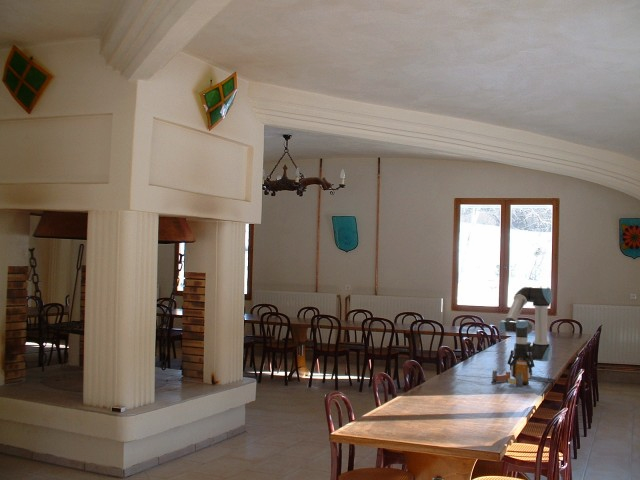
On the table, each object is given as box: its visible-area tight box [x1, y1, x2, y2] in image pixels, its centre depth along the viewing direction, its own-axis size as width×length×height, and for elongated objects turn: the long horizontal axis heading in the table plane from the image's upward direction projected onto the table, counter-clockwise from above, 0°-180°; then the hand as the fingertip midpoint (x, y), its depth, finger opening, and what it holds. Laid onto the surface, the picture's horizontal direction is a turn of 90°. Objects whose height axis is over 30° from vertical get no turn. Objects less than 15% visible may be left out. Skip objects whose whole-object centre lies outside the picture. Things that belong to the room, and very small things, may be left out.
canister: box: [512, 354, 530, 386], centre depth 470 cm, size 9×11×20 cm
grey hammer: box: [507, 374, 524, 388], centre depth 461 cm, size 4×8×8 cm, turn 52°
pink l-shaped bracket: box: [497, 371, 511, 383], centre depth 476 cm, size 2×13×6 cm, turn 127°
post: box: [490, 370, 498, 384], centre depth 470 cm, size 4×4×8 cm
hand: (520, 376), depth 470 cm, fingers closed on canister, 11 cm apart
